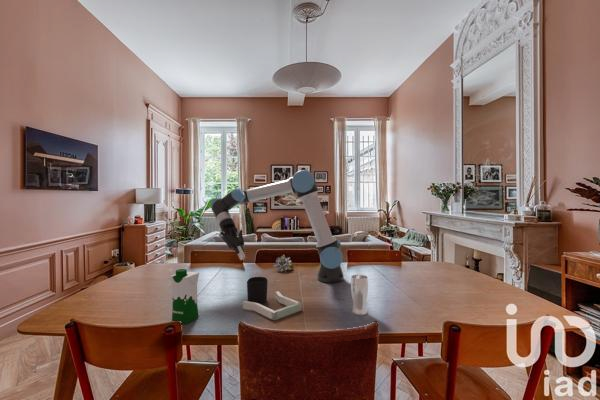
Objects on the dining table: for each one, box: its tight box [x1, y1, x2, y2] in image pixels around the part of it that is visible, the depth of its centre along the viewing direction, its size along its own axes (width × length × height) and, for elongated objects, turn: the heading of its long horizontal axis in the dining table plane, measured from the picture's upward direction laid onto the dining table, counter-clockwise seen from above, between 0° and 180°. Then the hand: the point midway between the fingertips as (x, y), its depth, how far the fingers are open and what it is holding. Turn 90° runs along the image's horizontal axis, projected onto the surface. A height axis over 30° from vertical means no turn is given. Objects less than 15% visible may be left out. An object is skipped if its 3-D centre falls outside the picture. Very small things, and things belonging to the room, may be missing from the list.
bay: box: [242, 290, 303, 321], centre depth 126 cm, size 19×20×3 cm
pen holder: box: [246, 276, 268, 305], centre depth 135 cm, size 9×9×10 cm
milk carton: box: [169, 268, 200, 325], centre depth 115 cm, size 9×9×20 cm
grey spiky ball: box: [273, 254, 295, 273], centre depth 191 cm, size 11×11×12 cm
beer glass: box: [350, 274, 369, 317], centre depth 121 cm, size 7×7×15 cm
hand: (242, 258), depth 144 cm, fingers closed
